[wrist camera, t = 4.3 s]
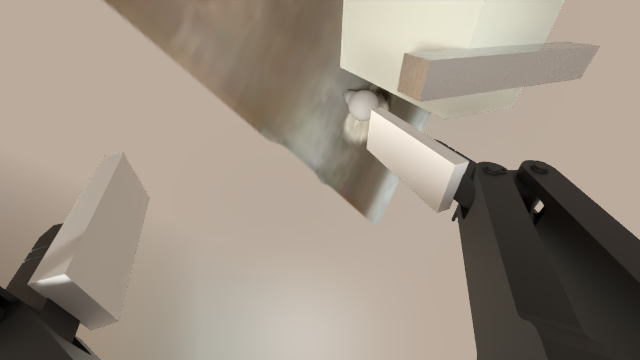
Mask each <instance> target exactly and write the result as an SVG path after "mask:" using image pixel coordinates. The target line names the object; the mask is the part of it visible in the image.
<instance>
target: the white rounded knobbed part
mask: <svg viewBox="0 0 640 360" xmlns="http://www.w3.org/2000/svg"><path fill="white" fill-rule="evenodd" d="M343 98H344V100H345V101H346V102H347V104H348V105H349V111H350V113H351V115H352V116H353V117H354V118H355V119H357V120H359V121H367V120H369V119H370V116H371V109H377V108H379V102H378V99H377V97H376V95H375V94H374V93H373V92H371V91H368V90H361V91H358V92H356V91H352V90H347V91H345V92H344V94H343Z"/></svg>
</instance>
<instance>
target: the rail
mask: <svg viewBox="0 0 640 360" xmlns="http://www.w3.org/2000/svg"><path fill="white" fill-rule="evenodd" d="M599 47H600V46H596V45H588V44H580V43H571V42H555V43H540V44H526V45H511V46H497V47H483V48H469V49H455V50H441V51H426V52H412V53H404V57H403V62H402V67H401V73H400V78H399V83H398V88H397V91H398V92H400V93H402V94H404V95H406V96H408V97H410V98H413V99H415V100H417V101H419V102H423V101H430V100H437V99H444V98H451V97H457V96H464V95H471V94H478V93H485V92H492V91H499V90H505V89H512V88H519V87H525V86H532V85H540V84H547V83H553V82H560V81H567V80H574V79H580V78H581V76H582V75H583V73H584V71H585V70H586V68H587V66H588V65H589V63H590V62H591V60H592V58H593V57H594V55H595V53H596V52H597V50H598V49H599Z"/></svg>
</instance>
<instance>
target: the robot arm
mask: <svg viewBox="0 0 640 360" xmlns="http://www.w3.org/2000/svg"><path fill="white" fill-rule="evenodd" d="M367 149H368V150H369V151H370V152H371V153H372V154H373V155H374V156H375V157H376V158H377V159H378V160H380V161H381V162H382V163H383V164H384V165H385V166H386V167H387V168H388V169H389V170H390V171H392V172H393V173H394V174H395V175H396V176H397V177H398V178H399V179H400V180H401V181H403V182H404V183H405V184H406V185H407V186H408V187H409V188H410V189H411V190H412V191H413V192H415V193H416V194H417V195H418V196H419V197H420V198H421V199H422V200H423V201H424V202H426V204H428V205H429V206H430V207H431V208H432V209H433V210H434V211H435V212H436V213H438V212H441V211H444V210H447V209H449V208H450V206H451V204H452V201H453V199H454V200H456V201H457V202H458V203H459V204H458V206H457V209H456V211H455V213H454V215H453V217H452V221H455V218H457V217H458V223H459V229H460V236H461V243H462V250H463V257H464V265H465V271H466V278H467V285H468V292H469V299H470V306H471V313H472V319H473V327H474V334H475V341H476V348H477V360H640V240H639V239H638V238H637V237H636V236H634V235H633V234H632V233H631V232H630V231H628V230H627V229H626V228H625V227H623V225H621V224H620V223H619V222H618V221H617V220H615V219H614V218H613V217H612V216H611V215H610V214H608V213H607V212H606V211H605V210H603V209H602V208H601V207H600V206H599V205H598V204H597V203H595V202H594V201H593V200H592V199H591V198H589V197H588V196H587V195H586V194H585V193H583V192H582V191H581V190H580V189H579V188H577V187H576V186H575V185H574V184H573V183H571V181H569V180H568V179H567V178H566V177H565V176H563V175H562V174H561V173H560V172H559V171H557V170H556V169H555V168H553V167H552V166H550V165H548V164H546V163H544V162H540V161H533V160H528V161H524V162H522V164H521V166H520V167H519V169H518V170H507V169H506V168H504V167H503V166H501V165H498V164H495V163H491V162H479V163H478V164H477V163H475V162H474V161H472V160H470V159H469V158H467V157H465V156H464V155H462V154H461V153H459V152H457V151H455V150H454V149H452V148H451V147H448V146H447V145H446V144H444V143H442V142H441V141H438V140H435V139H432V138H431V137H429V136H427V135H426V134H424V133H422V132H421V131H419V130H418V129H416V128H414V127H413V126H411V125H409V124H408V123H406V122H405V121H403V120H401V119H400V118H398V117H396V116H395V115H393V114H392V113H390V112H388V111H387V110H385V109H383V108H377V109H371V116H370V125H369V133H368V142H367ZM540 200H541V202H542V203H543V204H544V207H543V208H542V210H541V211H540V212H539V213H538V212H537V211H536V210H535V209H534V208H535V206H536V205H537V204H538V202H539V201H540ZM148 202H149V196H148V194H147V192H146V190H145V189H144V187H143V185H142V184H141V182H140V180H139V178H138V177H137V175H136V173H135V171H134V170H133V168H132V166H131V165H130V163H129V161H128V159H127V158H126V156H125V154H124V153H118V154H112V155H106V156H104V157H103V158H102V160H101V162H100V163H99V165H98V167H97V168H96V170H95V172H94V173H93V175H92V177H91V178H90V180H89V182H88V183H87V185H86V187H85V189H84V190H83V192H82V193H81V195H80V197H79V198H78V200H77V202H76V203H75V205H74V207H73V209H72V210H71V212H70V214H69V215H68V217H67V219H66V220H65V222H64V223H62V224H58V225H54V226H53V227H51V228H50V229H49V230H48V231H47V232H45V233H44V234H43V235H42V236H41V237H40V238H39V239H38V241H37V242H36V244H35V245H34V247H33V248H32V252H30V253H29V254H28V256H27V258H26V259H25V263H23V264H22V265H21V266H20V268H19V270H18V271H17V273H16V274H15V275H14V277H13V279H12V280H11V282H10V283H9V285H8V286H7V288H6V289H3V288H2V287H0V360H100V359H99V358H98V357H97V356H96V355H95V354H94V353H93V352H92V351H91V349H90V348H89V347H88V346H87V345H86V344H85V343H84V342H83V341H82V340H81V339H79V338H78V337H76V336H75V335H76V332H77V329H78V326H79V324H80V323H81V324H83V325H84V326H85V327H87V328H88V329H90V330H94V329H97V328H100V327H103V326H106V325H109V324H112V323H115V322H118V321H119V318H120V314H121V311H122V307H123V302H124V298H125V294H126V290H127V286H128V282H129V278H130V274H131V270H132V266H133V262H134V258H135V254H136V250H137V246H138V242H139V238H140V234H141V230H142V226H143V222H144V217H145V214H146V210H147V206H148Z"/></svg>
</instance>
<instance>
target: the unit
mask: <svg viewBox="0 0 640 360" xmlns="http://www.w3.org/2000/svg"><path fill="white" fill-rule="evenodd" d="M564 2H565V0H344V4H343V23H342V42H341V61H340V67H341V68H343V69H345V70H347V71H349V72H351V73H353V74H355V75H357V76H359V77H361V78H363V79H365V80H367V81H369V82H371V83H373V84H375V85H377V86H379V87H381V88H383V89H385V90H387V91H389V92H391V93H393V94H395V95H397V96H399V97H401V98H403V99H405V100H407V101H409V102H411V103H413V104H415V105H417V106H419V107H421V108H423V109H425V110H427V111H429V112H431V113H433V114H435V115H437V116H439V117H441V118H443V119H450V118H456V117H461V116H467V115H473V114H478V113H484V112H490V111H495V110H501V109H506V108H512V107H513V106H514V104H515V102H516V100H517V98H518V96H519V94H520V92H521V89H522V88H523V87H519V88H512V89H505V90H499V91H492V92H485V93H478V94H471V95H464V96H457V97H451V98H444V99H437V100H430V101H423V102H419V101H417V100H415V99H413V98H410V97H408V96H406V95H404V94H402V93H400V92H398V91H397V88H398V83H399V78H400V73H401V67H402V62H403V57H404V53H412V52H426V51H441V50H455V49H469V48H483V47H497V46H511V45H526V44H540V43H545V41H546V38H547V36H548V34H549V32H550V30H551V28H552V26H553V24H554V22H555V20H556V18H557V16H558V14H559V12H560V10H561V8H562V6H563V4H564Z"/></svg>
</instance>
